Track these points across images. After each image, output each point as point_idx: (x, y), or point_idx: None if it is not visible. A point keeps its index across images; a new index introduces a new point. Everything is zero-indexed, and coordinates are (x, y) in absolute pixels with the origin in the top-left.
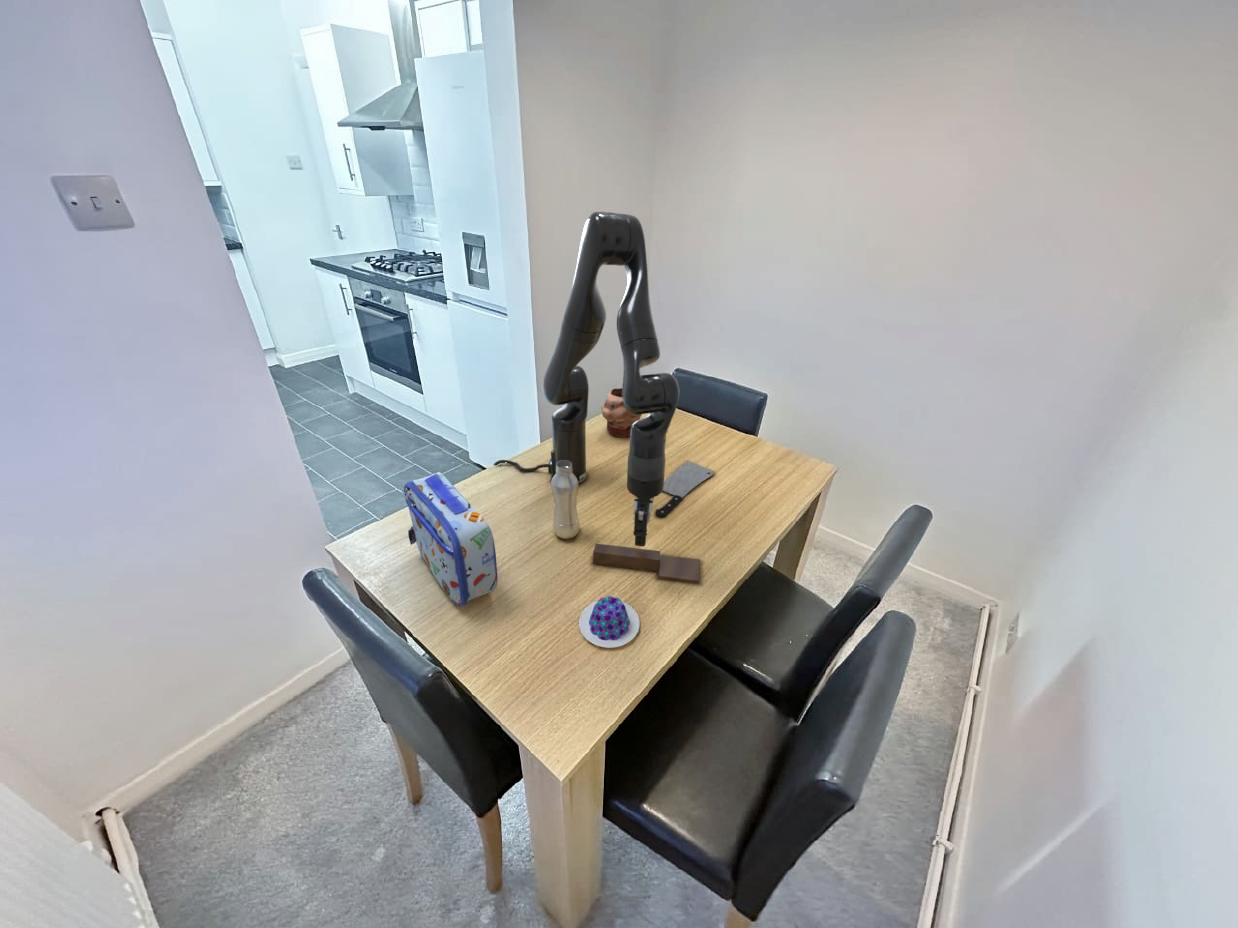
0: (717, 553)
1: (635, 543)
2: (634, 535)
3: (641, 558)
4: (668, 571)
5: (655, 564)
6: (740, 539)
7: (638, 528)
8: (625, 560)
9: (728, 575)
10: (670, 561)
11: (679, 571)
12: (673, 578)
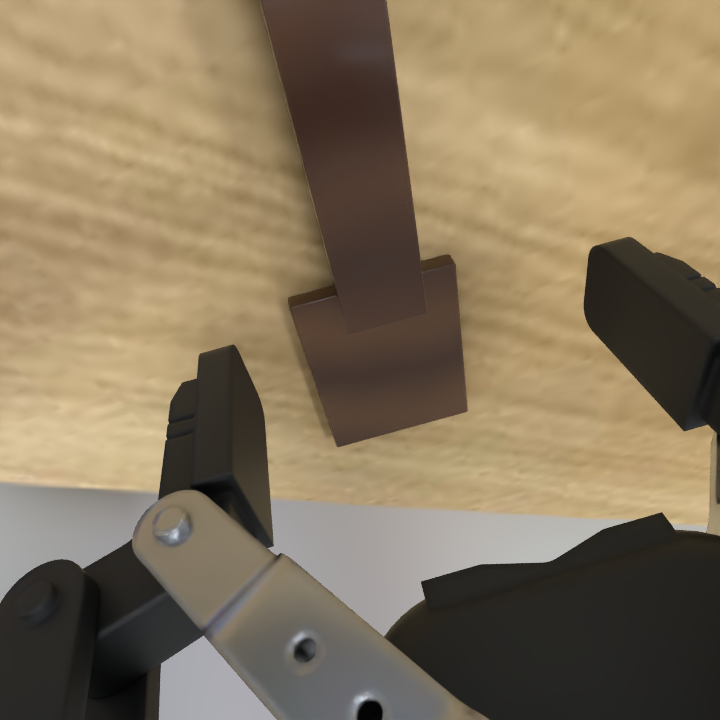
0: (528, 435)
1: (198, 367)
2: (19, 590)
3: (322, 234)
4: (341, 338)
5: (337, 295)
6: (617, 466)
7: (145, 619)
8: (287, 106)
9: (417, 490)
10: (416, 323)
11: (361, 376)
12: (310, 365)
